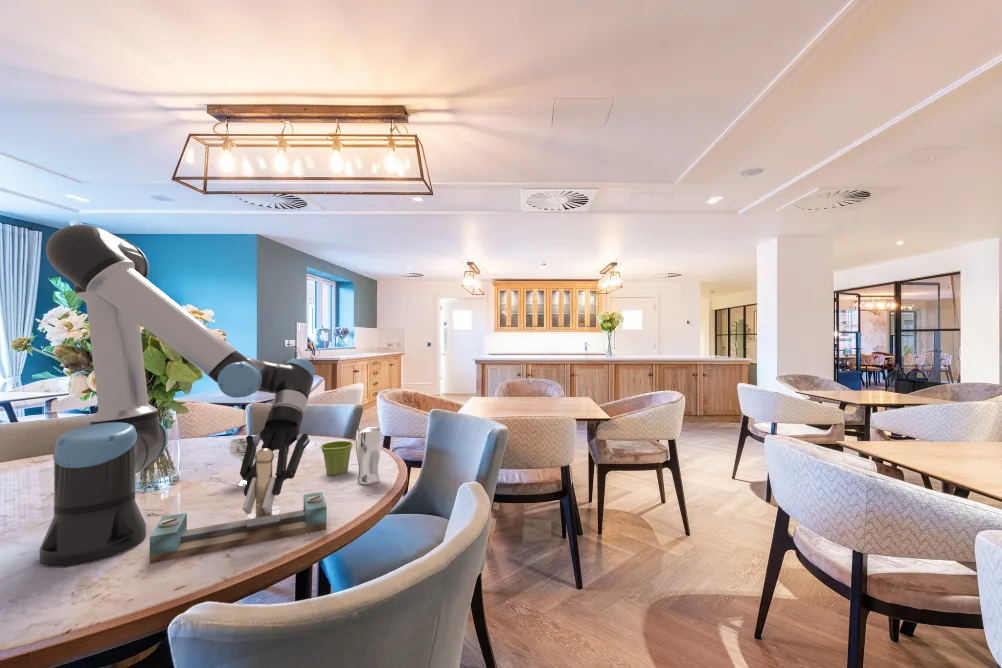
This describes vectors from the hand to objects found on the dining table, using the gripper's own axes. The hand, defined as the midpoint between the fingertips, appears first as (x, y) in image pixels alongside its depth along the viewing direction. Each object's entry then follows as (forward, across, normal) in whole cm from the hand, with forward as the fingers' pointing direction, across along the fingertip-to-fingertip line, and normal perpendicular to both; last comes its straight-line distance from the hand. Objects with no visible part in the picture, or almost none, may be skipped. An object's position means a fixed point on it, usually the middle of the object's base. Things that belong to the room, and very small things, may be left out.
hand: (256, 510), depth 86 cm
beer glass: (-20, -16, -30) cm, 39 cm away
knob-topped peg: (0, 0, -6) cm, 6 cm away
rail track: (+2, +3, -7) cm, 8 cm away
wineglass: (-23, +20, -33) cm, 44 cm away
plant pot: (-27, -5, -37) cm, 46 cm away
